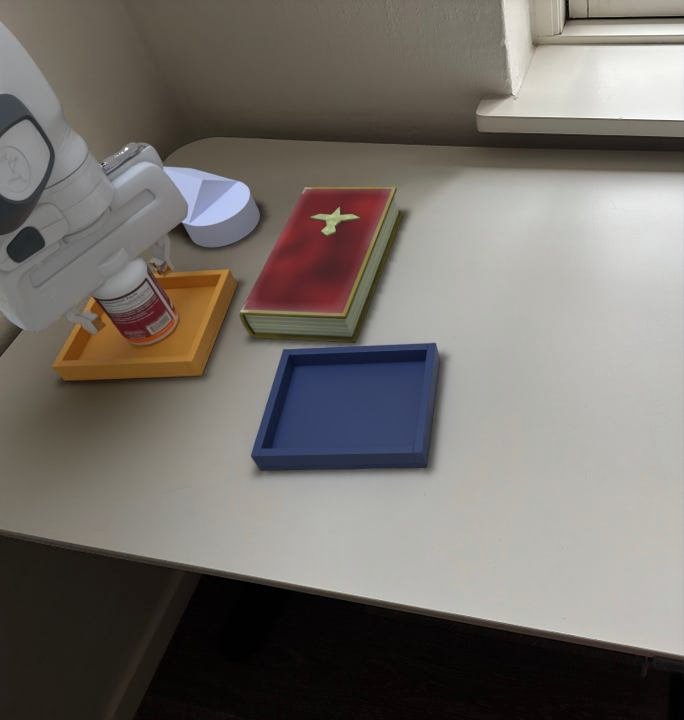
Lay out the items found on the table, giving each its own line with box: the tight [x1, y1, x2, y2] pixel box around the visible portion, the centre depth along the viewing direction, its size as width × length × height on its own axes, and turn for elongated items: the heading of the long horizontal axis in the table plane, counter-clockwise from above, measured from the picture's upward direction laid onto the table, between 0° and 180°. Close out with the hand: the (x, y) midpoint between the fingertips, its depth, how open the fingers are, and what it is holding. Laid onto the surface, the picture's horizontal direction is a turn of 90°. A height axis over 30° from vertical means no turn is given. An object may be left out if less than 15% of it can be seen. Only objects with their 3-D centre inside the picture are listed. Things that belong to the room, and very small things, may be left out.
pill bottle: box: [90, 247, 178, 346], centre depth 75 cm, size 6×6×11 cm
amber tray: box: [51, 268, 238, 382], centre depth 79 cm, size 16×14×2 cm
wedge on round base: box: [163, 166, 261, 248], centre depth 89 cm, size 9×7×13 cm
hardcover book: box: [239, 186, 404, 343], centre depth 81 cm, size 12×21×4 cm, turn 170°
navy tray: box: [250, 342, 441, 471], centre depth 68 cm, size 16×13×2 cm
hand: (132, 299), depth 76 cm, fingers open, 8 cm apart
